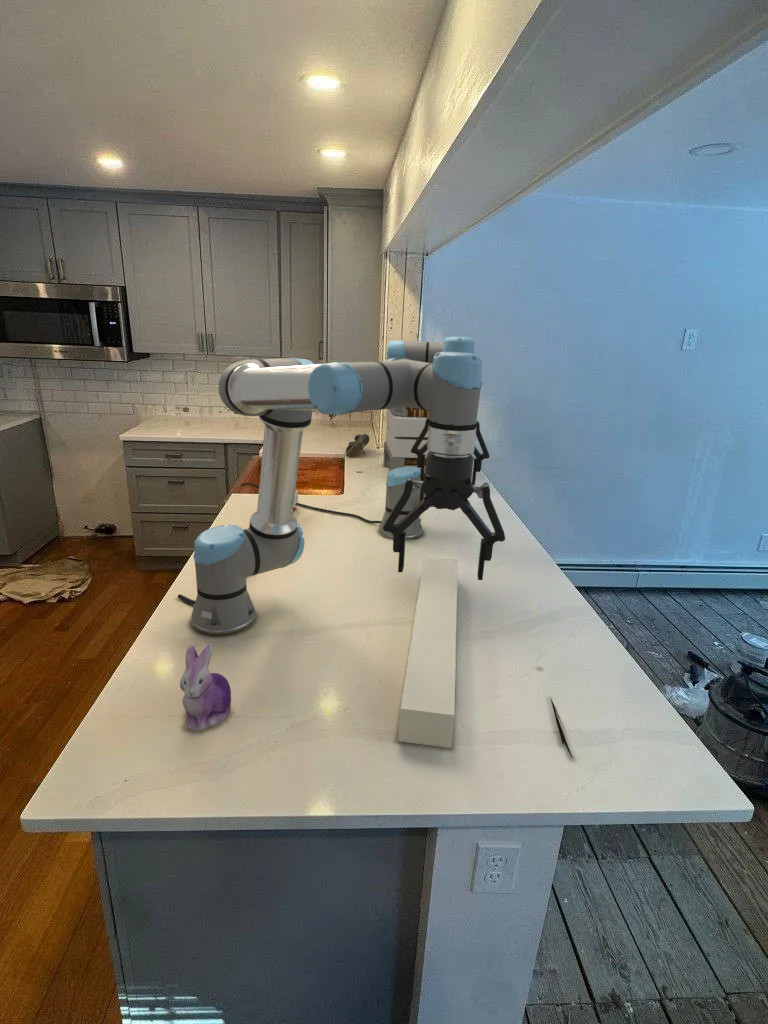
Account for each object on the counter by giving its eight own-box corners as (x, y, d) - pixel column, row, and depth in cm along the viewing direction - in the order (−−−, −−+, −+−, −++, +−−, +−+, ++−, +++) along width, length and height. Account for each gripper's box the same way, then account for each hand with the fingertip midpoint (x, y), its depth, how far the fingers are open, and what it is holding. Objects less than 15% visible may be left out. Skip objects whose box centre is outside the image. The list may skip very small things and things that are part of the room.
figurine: (187, 740, 102) (180, 669, 97) (178, 706, 110) (171, 639, 105) (239, 725, 106) (236, 656, 101) (227, 693, 115) (223, 628, 109)
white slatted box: (382, 463, 289) (386, 382, 275) (445, 464, 293) (451, 384, 279) (390, 482, 257) (394, 392, 243) (460, 483, 261) (468, 394, 247)
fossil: (345, 440, 316) (366, 424, 311) (356, 453, 319) (377, 438, 314) (339, 453, 297) (361, 437, 292) (350, 467, 300) (373, 452, 295)
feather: (540, 672, 128) (545, 666, 127) (572, 762, 101) (579, 755, 101) (533, 668, 128) (539, 662, 127) (564, 758, 101) (571, 750, 100)
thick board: (422, 579, 167) (424, 556, 165) (455, 582, 166) (457, 559, 164) (398, 741, 104) (400, 708, 102) (451, 748, 103) (454, 715, 101)
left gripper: (369, 452, 88) (365, 575, 96) (532, 464, 86) (515, 589, 93) (376, 442, 95) (371, 557, 103) (527, 452, 93) (511, 570, 100)
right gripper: (403, 399, 141) (399, 481, 148) (505, 406, 138) (495, 489, 145) (406, 395, 148) (402, 473, 155) (503, 401, 145) (494, 481, 152)
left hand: (440, 573), depth 98 cm, fingers open, 13 cm apart
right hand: (447, 481), depth 150 cm, fingers open, 13 cm apart
